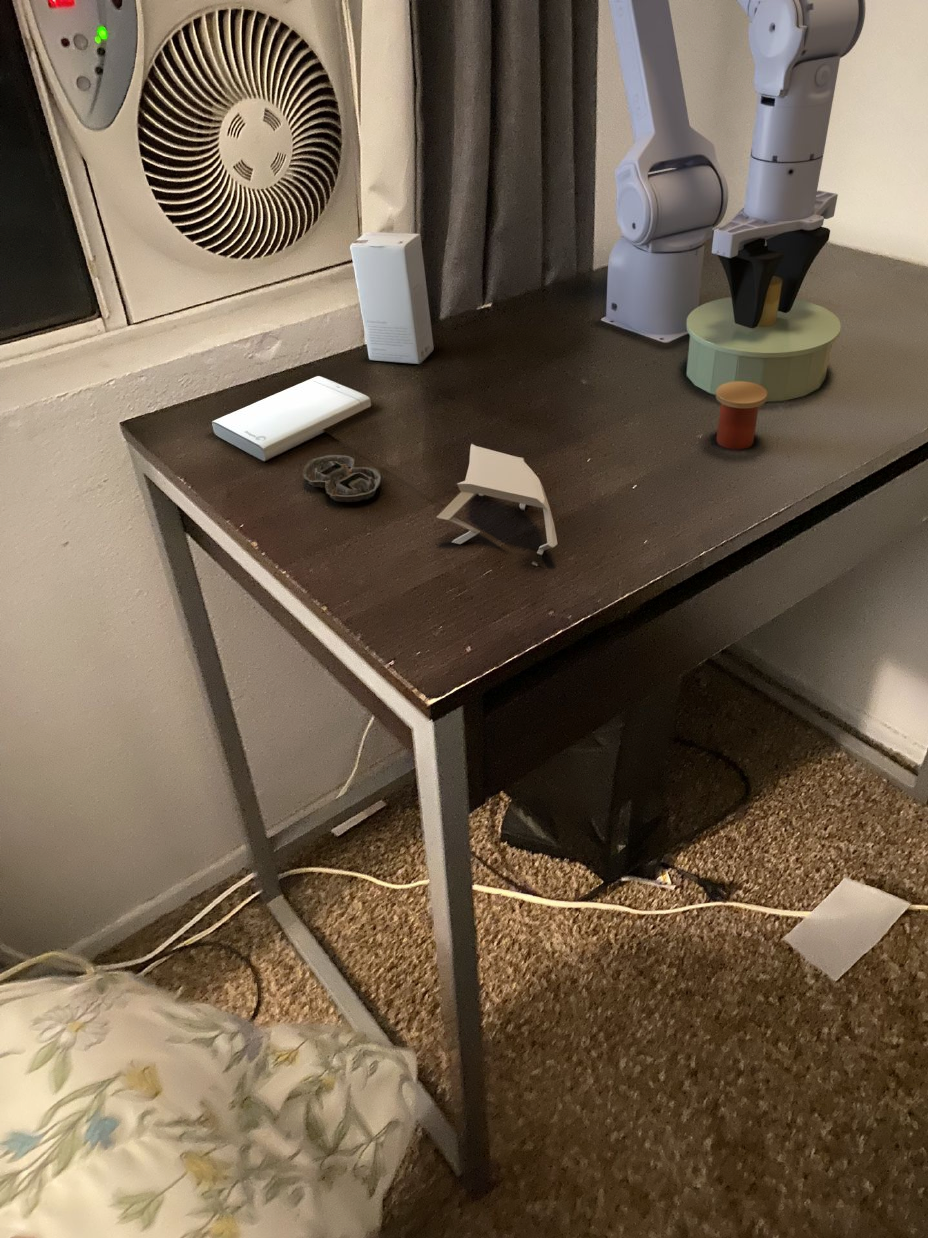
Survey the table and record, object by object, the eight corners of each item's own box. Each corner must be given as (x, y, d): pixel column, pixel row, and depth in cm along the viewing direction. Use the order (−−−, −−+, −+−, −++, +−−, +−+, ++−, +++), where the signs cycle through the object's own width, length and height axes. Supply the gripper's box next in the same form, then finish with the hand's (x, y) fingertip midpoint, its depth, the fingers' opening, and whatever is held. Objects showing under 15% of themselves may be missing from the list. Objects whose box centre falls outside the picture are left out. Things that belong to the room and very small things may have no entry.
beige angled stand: (412, 530, 70) (405, 475, 67) (486, 486, 74) (483, 432, 71) (529, 592, 63) (528, 533, 60) (603, 539, 67) (606, 481, 64)
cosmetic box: (435, 349, 96) (424, 231, 88) (419, 367, 93) (407, 245, 85) (382, 345, 98) (367, 228, 90) (365, 362, 95) (348, 242, 87)
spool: (699, 446, 77) (706, 392, 74) (729, 430, 79) (737, 376, 76) (738, 463, 74) (746, 407, 71) (768, 446, 76) (777, 391, 73)
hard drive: (262, 447, 78) (370, 395, 85) (210, 419, 83) (316, 372, 90) (266, 463, 80) (372, 411, 86) (214, 435, 84) (319, 388, 91)
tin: (658, 378, 87) (661, 329, 84) (741, 339, 93) (748, 291, 90) (767, 421, 80) (775, 368, 76) (851, 375, 85) (862, 324, 82)
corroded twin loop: (336, 457, 79) (334, 447, 78) (396, 488, 74) (395, 477, 74) (290, 480, 77) (288, 470, 76) (349, 514, 72) (347, 502, 71)
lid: (655, 335, 85) (658, 283, 82) (746, 295, 91) (753, 245, 88) (777, 378, 76) (787, 321, 73) (869, 331, 83) (881, 276, 79)
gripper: (773, 181, 68) (748, 353, 77) (881, 142, 75) (847, 305, 84) (699, 167, 73) (683, 331, 81) (807, 132, 79) (782, 287, 88)
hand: (762, 317), depth 83 cm, fingers open, 4 cm apart
